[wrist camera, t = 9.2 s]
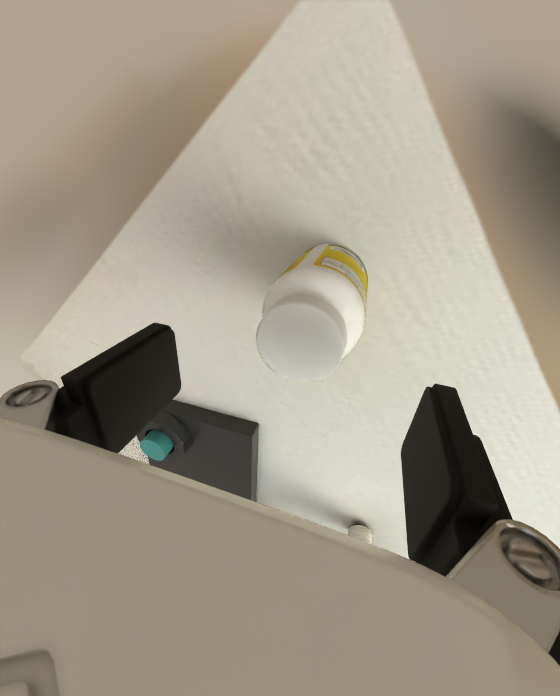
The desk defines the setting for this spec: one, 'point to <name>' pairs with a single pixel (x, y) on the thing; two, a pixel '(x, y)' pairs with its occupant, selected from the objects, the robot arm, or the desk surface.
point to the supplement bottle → (314, 314)
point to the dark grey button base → (208, 447)
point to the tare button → (156, 445)
